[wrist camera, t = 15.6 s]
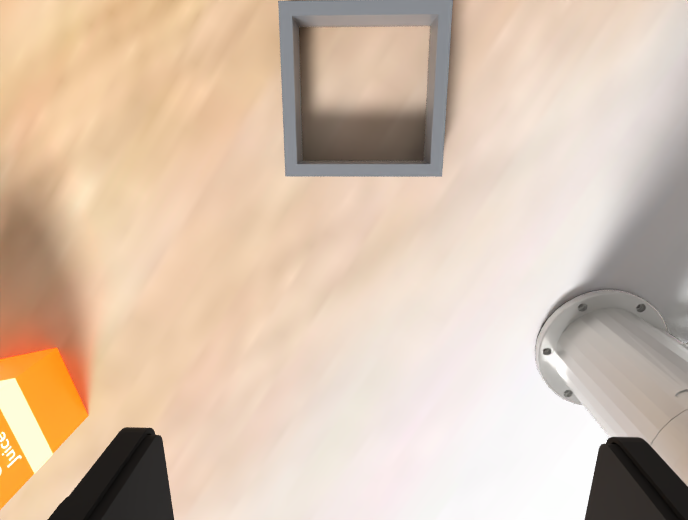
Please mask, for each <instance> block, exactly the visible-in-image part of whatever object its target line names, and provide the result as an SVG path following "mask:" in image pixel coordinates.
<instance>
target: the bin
mask: <svg viewBox="0 0 688 520" xmlns="http://www.w3.org/2000/svg"><path fill="white" fill-rule="evenodd" d="M278 3H279V28H280V53H281V77H282V102H283V127H284V151H285V176H442V168H443V151H444V135H445V119H446V103H447V87H448V70H449V54H450V38H451V22H452V6H453V0H312V1H278ZM377 26H430V39H429V60H428V80H427V100H426V121H425V141H424V161H303V147H302V113H301V78H300V43H299V27H377Z"/></svg>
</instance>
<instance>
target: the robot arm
mask: <svg viewBox="0 0 688 520" xmlns="http://www.w3.org/2000/svg"><path fill="white" fill-rule="evenodd" d="M535 360H536V364H537V368H538V371H539V373H540V375H541V377H542V379H543V380H544V381H545V383H546V384H547V386H548V387H549V388H550V389H551V390H552V391H553V392H554V393H555V394H556V395H558V396H559V397H561V398H562V399H564V400H567V401H569V402H572V403H574V404H579V405H583V406H584V407H585V408H586V409H587V411H588V412H589V413H590V414H591V415H592V417H593V418H594V419H595V420H596V422H597V423H598V424H599V425H600V427H601V428H602V429H603V430H604V432H605V433H606V434H607V435H608V436H609V439H608V440H607V443H606V444H602V445H601V446H600V448H599V451H598V456H597V461H596V466H595V471H594V476H593V481H592V486H591V491H590V496H589V501H588V506H587V511H586V516H585V520H688V343H682V342H681V341H679V340H678V339H676V338H675V337H673V336H672V335H670V334H669V333H668V329H667V326H666V324H665V322H664V319H663V318H662V316H661V315H660V313H659V312H658V311H657V309H655V308H654V307H653V306H652V305H651V304H649V303H648V302H647V301H645V300H643V299H642V298H640V297H638V296H636V295H633V294H631V293H628V292H624V291H619V290H598V291H592V292H588V293H585V294H582V295H579V296H577V297H575V298H573V299H571V300H569V301H568V302H566V303H565V304H563V305H562V306H561V307H559V308H558V309H557V310H556V311H555V312H554V313H553V314H552V315H551V316H550V317H549V318H548V320H547V321H546V323H545V324H544V326H543V327H542V329H541V331H540V334H539V336H538V339H537V343H536V348H535ZM48 520H174V516H173V509H172V502H171V495H170V488H169V481H168V475H167V468H166V461H165V454H164V447H163V441H162V437H161V436H159V435H155V432H154V430H153V429H152V428H129V427H126V428H123V429H122V430H121V431H120V432H119V433H118V434H117V436H116V437H115V438H114V439H113V441H112V442H111V443H110V445H109V446H108V447H107V448H106V450H105V451H104V452H103V453H102V455H101V456H100V457H99V459H98V460H97V461H96V462H95V464H94V465H93V466H92V467H91V469H90V470H89V471H88V473H87V474H86V475H85V476H84V478H83V479H82V480H81V481H80V483H79V484H78V485H77V487H76V488H75V489H74V490H73V492H72V493H71V494H70V495H69V496H68V497H67V498H66V499H65V500H64V501H63V502H62V503H61V504H60V505H59V506H58V507H57V509H56V510H55V511H54V512H53V514H52V515H51V516H50V517H49V519H48Z"/></svg>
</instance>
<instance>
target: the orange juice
mask: <svg viewBox="0 0 688 520" xmlns="http://www.w3.org/2000/svg"><path fill="white" fill-rule="evenodd" d="M87 417H88V414H87V412H86V409H85V407H84V405H83V403H82V401H81V399H80V396H79V394H78V392H77V390H76V388H75V386H74V383H73V381H72V379H71V377H70V375H69V373H68V370H67V368H66V366H65V364H64V362H63V359H62V357H61V355H60V353H59V351H58V349H57V348H53V349H48V350H43V351H38V352H33V353H28V354H23V355H18V356H13V357H9V358H4V359H0V509H1V508H2V507H3V506H4V505H5V504H6V503H7V502H8V501H9V500H10V499H11V498H12V497H13V496H14V494H15V493H16V492H17V491H18V490H19V489H20V488H21V487H22V486H23V485H24V484H25V483H26V482H27V481H28V480H29V478H30V477H31V476H32V475H33V474H35V473H36V472H37V471H38V470H39V469H40V468H41V467H42V465H43V464H44V463H45V462H46V461H47V460H48V459H49V458H50V457H51V456H52V455H53V453H54V452H55V451H56V450H57V449H58V448H59V446H60V445H61V444H62V443H63V442H64V441H65V440H66V439H67V438H68V437H69V436H70V435H71V434H72V433H73V432H74V430H75V429H76V428H77V427H78V426H79V425H80V424H81V423H82V422H83V421H84V420H85V419H86V418H87Z"/></svg>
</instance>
